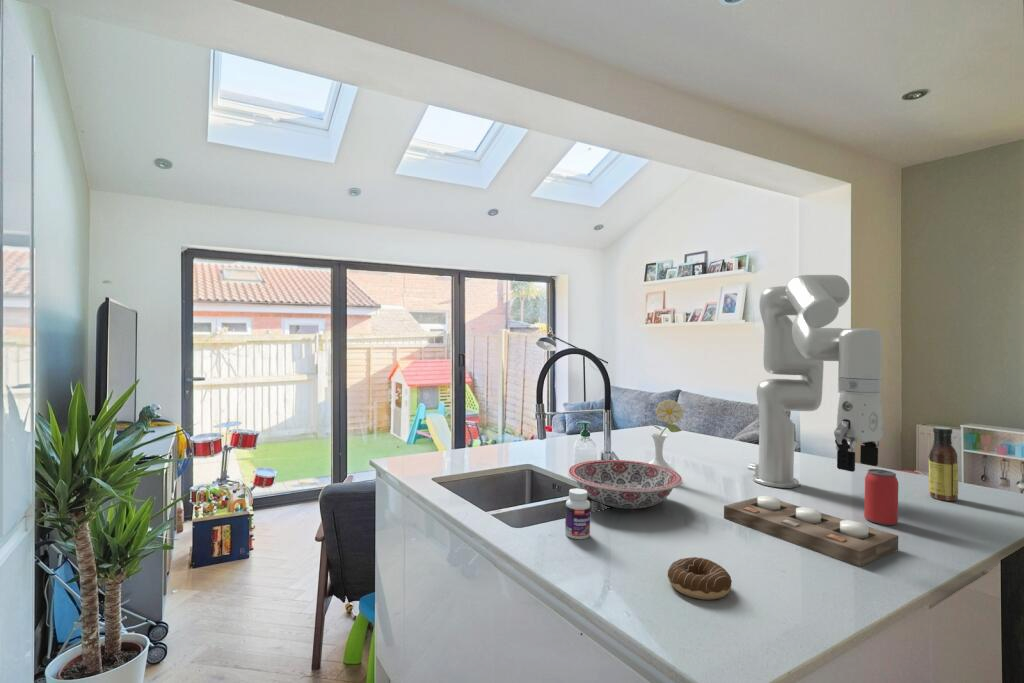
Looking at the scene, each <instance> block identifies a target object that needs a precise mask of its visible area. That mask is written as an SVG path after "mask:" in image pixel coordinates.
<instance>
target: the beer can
mask: <svg viewBox="0 0 1024 683" xmlns="http://www.w3.org/2000/svg"><path fill="white" fill-rule="evenodd" d="M896 475H897V473H895V472H893V471H891V470H890V471H889V470H887V469H878V468H869V469H868V470H867V473H866V474H865V477H864V504H863V506H864V509H863V510H864V511H863V512H864V513H863V515H864V516H863V517H864V518H865V520H867V521H868V520H869V521H868V522H870V521H871V523H873V522H874V523H873V524H876V523H878V524H877V525H881V524H883V526H895V525H897V524H898V522H899V521H898V520H899V518H898V517H899V515H898V514H899V481H898V478H897V476H896Z"/></svg>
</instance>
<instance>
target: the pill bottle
mask: <svg viewBox="0 0 1024 683" xmlns="http://www.w3.org/2000/svg"><path fill="white" fill-rule="evenodd" d="M568 491H569V492H568V498H569V499H568V498H567V500H566V502H565V522H564V523H565V525H564V531H565V532H564V533H565V535H566V536H567V537H569V538H570V539H574V540H584V539H587V538H589V537H590V534H591V533H590V532H591V526H590V525H591V502H590V501H589V500H588V495H587V491H586V490H584V489H581V488H570V489H569V490H568Z"/></svg>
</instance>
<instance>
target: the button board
mask: <svg viewBox="0 0 1024 683" xmlns="http://www.w3.org/2000/svg"><path fill="white" fill-rule="evenodd" d="M758 497H759V496H757V497H753V498H750V499H746V500H742V501H738V502H734V503H729V504H725V505H724V506H723V519H725V520H728V521H732V522H734V523H737V524H738V525H742V526H745V527H748V528H751V529H753V530H756V531H759V532H762V533H764V534H767V535H770V536H773V537H776V538H778V539H782V540H783V541H786V542H790V543H792V544H794V545H795V544H796V545H798V546H800V547H803V548H806V549H808V550H811V551H815V552H818V553H820V554H823V555H825V556H828V557H831V558H834V559H836V560H839V561H842V562H844V563H847V564H849V565H853V566H856V567H858V568H861V567H862V566H865V565H867V564H870V563H872V562H875V561H877V560H878V558H879V559H881V558H884V557H886V556H888V555H890V554H893V553H895V552H897V551H899V535H897V534H894V533H892V532H891V533H890V532H887V531H884V530H880V529H877V528H873V527H870V526H868V527H869V529H868V538H866V539H859V538H854V537H850V536H847V535H844V534H842V533H840V521H843V520H845V519H843V518H840V517H837V516H832V515H830V514H826V513H823V512H821V523H819V524H811V523H806V522H803V521H800V520H797V519H796V508H799V507H801V506H798V505H795V504H793V503H789V502H786V501H782V500H780V510H778V511H769V510H766V509H763V508H759V507H758V506H757V498H758ZM896 550H897V551H896ZM894 551H895V552H894ZM892 552H893V553H892ZM889 553H890V554H889ZM887 554H888V555H887ZM885 555H886V556H885ZM876 559H877V560H876Z"/></svg>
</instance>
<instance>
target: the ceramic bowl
mask: <svg viewBox="0 0 1024 683" xmlns="http://www.w3.org/2000/svg"><path fill="white" fill-rule="evenodd" d="M675 471H676V470H675ZM675 471H673V470H670V469H668V468H665V467H662V466H658V465H654V464H649V462H642V461H635V460H623V459H622V460H621V459H597V460H589V461H584V462H579V463H575V464H574V465H572V466H570V467H569V469H568V471H567V472H568V476H569V477H570V478H571V479H573V481H576V484H577V485H578V486H579V489H584V490H586V491H587V497H588V498H590V499H592V500H593V501H595V502H597V503H599V504H602V505H604V506H609V507H612V508H619V509H631V510H632V509H644V508H648V507H651V506H655V505H657V504H660V503H661V502H662V501H663V500H665V499H666V498H667V497H668V496H669V495H670V494H671V493H672V491H673V489H675V488H678V487H679V486H680V485H681V484H682V483H683V477H682V475H681V474H679V473H678V472H677V471H676V472H677V473H676V472H675Z"/></svg>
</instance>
